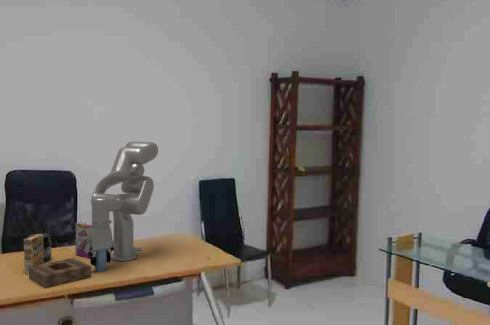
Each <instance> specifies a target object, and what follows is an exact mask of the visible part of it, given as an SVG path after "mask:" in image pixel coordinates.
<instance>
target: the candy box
mask: <svg viewBox="0 0 490 325" xmlns="http://www.w3.org/2000/svg"><path fill="white" fill-rule="evenodd" d="M34 234H35V235H33V234H32V235H33V236H30V235H29V236H30V237H29V236H27V237H25V238H23V254H24V255H23V258H24V260H23V262H24V273H25V274H29V267H30V266H35V265H40V264H45V262H44V259H43V235H37V234H38V233H34Z"/></svg>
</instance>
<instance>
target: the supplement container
mask: <svg viewBox="0 0 490 325" xmlns="http://www.w3.org/2000/svg"><path fill="white" fill-rule="evenodd" d="M35 234H37V235H43V259H44V263H48V262H49V261H50V260H51V259H52V241H51V235H50V234H49V233H34V234H33V233H32V234H29V236H28V237H30V236H33V235H35Z"/></svg>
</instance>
